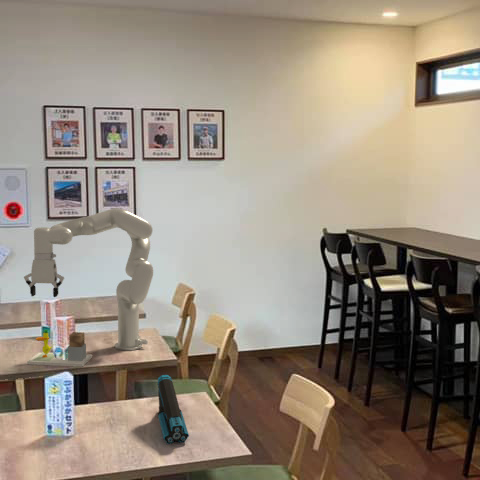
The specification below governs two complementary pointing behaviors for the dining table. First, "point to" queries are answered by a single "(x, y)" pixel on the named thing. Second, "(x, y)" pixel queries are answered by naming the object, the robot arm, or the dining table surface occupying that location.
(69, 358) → the pedestal
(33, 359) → the build plate
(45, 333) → the toy figure
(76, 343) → the walnut cube
